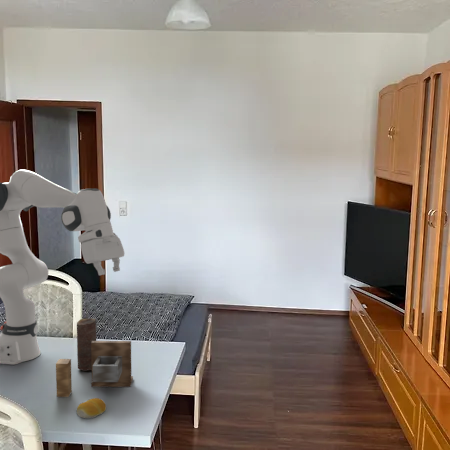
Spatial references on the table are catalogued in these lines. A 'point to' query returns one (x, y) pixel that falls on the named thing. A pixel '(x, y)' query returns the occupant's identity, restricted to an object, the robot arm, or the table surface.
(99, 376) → the bracket
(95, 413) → the bread roll
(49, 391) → the table surface
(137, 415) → the table surface
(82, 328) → the brown rough cylinder
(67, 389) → the wooden block
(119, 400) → the table surface
